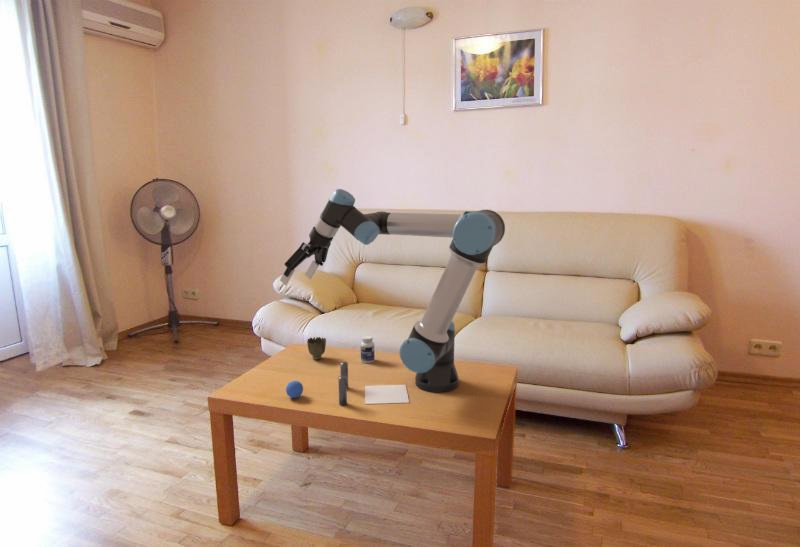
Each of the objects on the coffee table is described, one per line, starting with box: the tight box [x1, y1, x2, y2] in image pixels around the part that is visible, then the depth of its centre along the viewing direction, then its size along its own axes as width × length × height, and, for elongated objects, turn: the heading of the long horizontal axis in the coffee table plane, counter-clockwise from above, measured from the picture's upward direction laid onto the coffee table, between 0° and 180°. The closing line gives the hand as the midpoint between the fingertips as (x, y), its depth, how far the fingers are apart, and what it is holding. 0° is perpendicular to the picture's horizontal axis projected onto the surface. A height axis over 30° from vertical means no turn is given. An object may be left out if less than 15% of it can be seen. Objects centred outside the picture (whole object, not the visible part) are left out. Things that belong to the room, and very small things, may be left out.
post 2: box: [337, 375, 348, 406], centre depth 161 cm, size 2×2×9 cm
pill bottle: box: [360, 335, 375, 364], centre depth 199 cm, size 5×5×10 cm
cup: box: [306, 336, 327, 361], centre depth 201 cm, size 8×7×8 cm
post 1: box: [339, 361, 349, 390], centre depth 173 cm, size 2×2×9 cm
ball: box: [285, 380, 304, 399], centre depth 166 cm, size 6×6×6 cm
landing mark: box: [364, 384, 410, 405], centre depth 169 cm, size 14×14×1 cm
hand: (295, 279), depth 178 cm, fingers open, 13 cm apart
